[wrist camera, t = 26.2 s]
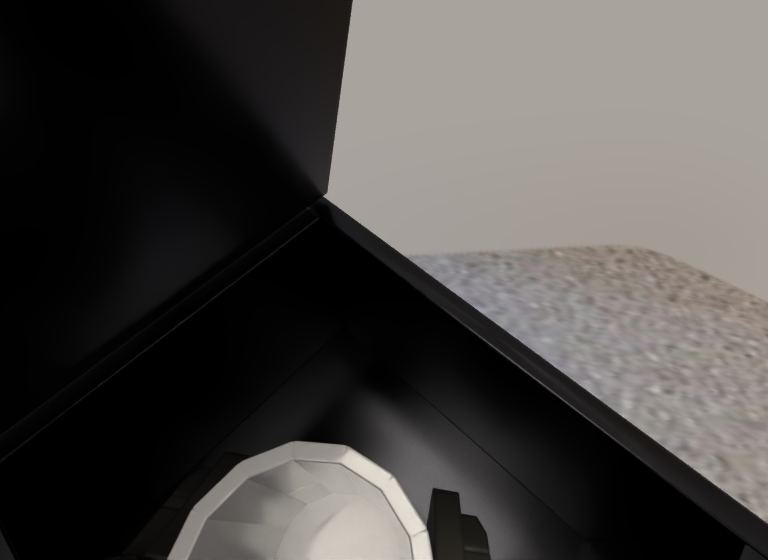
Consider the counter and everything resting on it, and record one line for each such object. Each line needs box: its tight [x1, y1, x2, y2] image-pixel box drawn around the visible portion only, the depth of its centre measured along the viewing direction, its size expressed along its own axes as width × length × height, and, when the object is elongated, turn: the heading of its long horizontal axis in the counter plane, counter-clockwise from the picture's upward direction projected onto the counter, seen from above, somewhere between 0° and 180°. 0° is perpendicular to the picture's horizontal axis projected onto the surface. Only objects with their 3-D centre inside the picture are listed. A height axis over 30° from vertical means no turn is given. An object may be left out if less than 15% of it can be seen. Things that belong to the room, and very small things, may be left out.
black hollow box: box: [0, 196, 768, 560], centre depth 15 cm, size 17×14×10 cm
